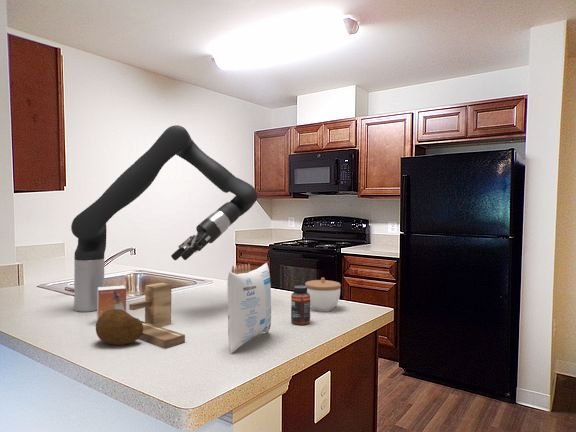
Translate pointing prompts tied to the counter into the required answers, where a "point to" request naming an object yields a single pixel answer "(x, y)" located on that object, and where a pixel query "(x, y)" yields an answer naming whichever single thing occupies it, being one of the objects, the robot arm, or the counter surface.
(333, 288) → the lidded bowl
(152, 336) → the walnut board
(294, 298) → the supplement bottle
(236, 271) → the ammunition clip
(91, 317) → the counter surface
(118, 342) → the potato
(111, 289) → the small box
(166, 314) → the tan block
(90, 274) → the robot arm
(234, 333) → the pouch
